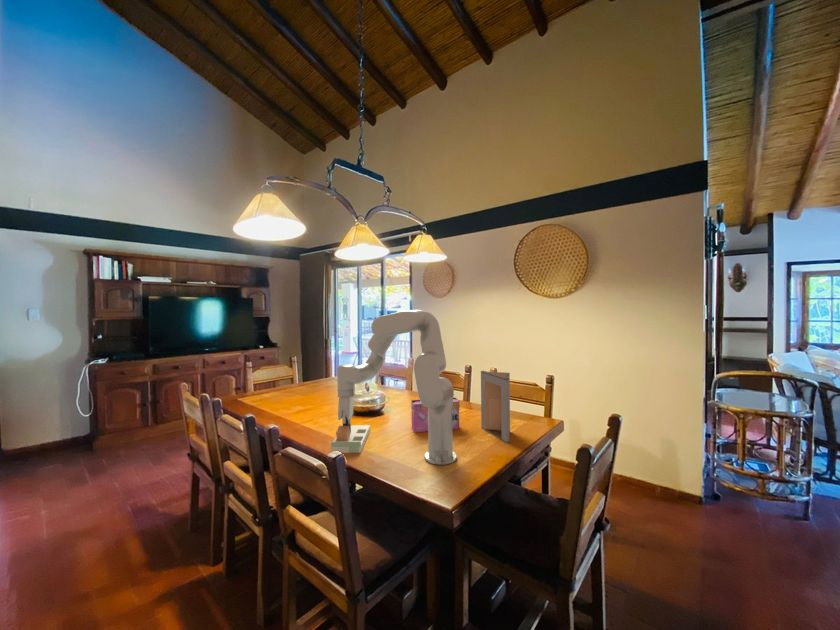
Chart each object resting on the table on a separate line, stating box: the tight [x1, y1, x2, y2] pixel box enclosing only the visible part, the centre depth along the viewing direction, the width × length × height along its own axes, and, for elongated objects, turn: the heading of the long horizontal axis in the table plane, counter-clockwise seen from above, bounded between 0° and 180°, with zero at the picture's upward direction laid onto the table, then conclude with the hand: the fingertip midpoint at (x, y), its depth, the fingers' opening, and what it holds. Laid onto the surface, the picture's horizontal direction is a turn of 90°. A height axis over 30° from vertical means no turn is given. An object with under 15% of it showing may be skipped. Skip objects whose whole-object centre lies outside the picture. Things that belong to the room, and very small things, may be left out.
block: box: [335, 425, 350, 441], centre depth 150 cm, size 4×4×4 cm
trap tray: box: [330, 424, 371, 454], centre depth 156 cm, size 26×12×4 cm, turn 0°
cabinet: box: [480, 370, 511, 444], centre depth 162 cm, size 21×10×28 cm, turn 21°
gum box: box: [410, 397, 461, 433], centre depth 171 cm, size 24×8×14 cm, turn 100°
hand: (346, 433), depth 154 cm, fingers closed
